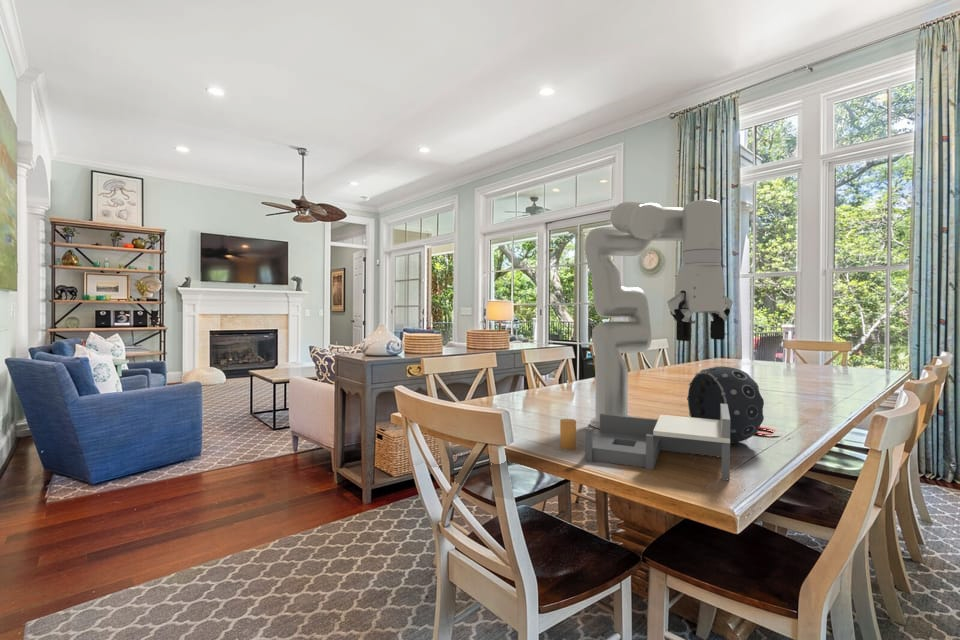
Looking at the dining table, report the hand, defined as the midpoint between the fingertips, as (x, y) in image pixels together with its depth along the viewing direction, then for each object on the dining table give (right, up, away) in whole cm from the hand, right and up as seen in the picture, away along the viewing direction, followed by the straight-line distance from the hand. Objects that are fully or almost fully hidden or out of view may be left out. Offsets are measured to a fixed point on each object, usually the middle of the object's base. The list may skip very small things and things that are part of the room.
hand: (700, 339), depth 101 cm
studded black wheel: (+18, -28, +25) cm, 42 cm away
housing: (-5, -29, +11) cm, 31 cm away
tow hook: (+33, -28, +33) cm, 55 cm away
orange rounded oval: (-25, -29, +20) cm, 43 cm away
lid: (+1, -21, +7) cm, 22 cm away
